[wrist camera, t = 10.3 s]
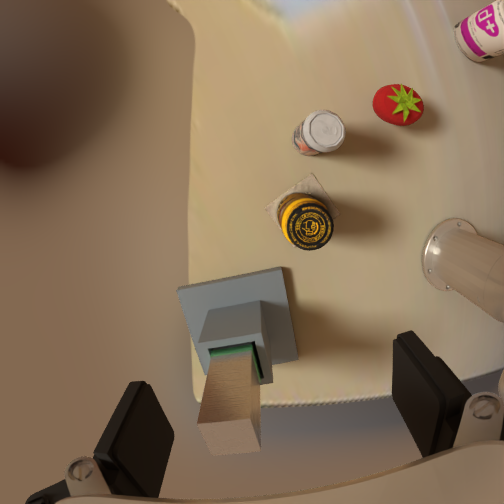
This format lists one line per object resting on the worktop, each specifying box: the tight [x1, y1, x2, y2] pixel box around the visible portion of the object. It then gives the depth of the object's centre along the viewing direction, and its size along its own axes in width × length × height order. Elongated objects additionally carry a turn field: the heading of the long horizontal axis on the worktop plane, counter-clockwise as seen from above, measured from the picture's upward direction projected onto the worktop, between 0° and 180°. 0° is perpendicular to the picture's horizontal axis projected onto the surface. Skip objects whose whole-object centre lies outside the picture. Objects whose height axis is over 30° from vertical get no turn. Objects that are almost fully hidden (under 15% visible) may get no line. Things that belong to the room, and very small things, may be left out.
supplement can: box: [454, 0, 504, 62], centre depth 29 cm, size 8×8×15 cm
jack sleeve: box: [176, 267, 299, 385], centre depth 44 cm, size 16×16×12 cm
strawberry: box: [373, 84, 424, 126], centre depth 36 cm, size 6×8×10 cm
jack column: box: [197, 341, 261, 455], centre depth 34 cm, size 5×5×17 cm
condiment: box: [264, 173, 340, 251], centre depth 40 cm, size 7×8×12 cm
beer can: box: [292, 110, 346, 156], centre depth 37 cm, size 5×5×12 cm
